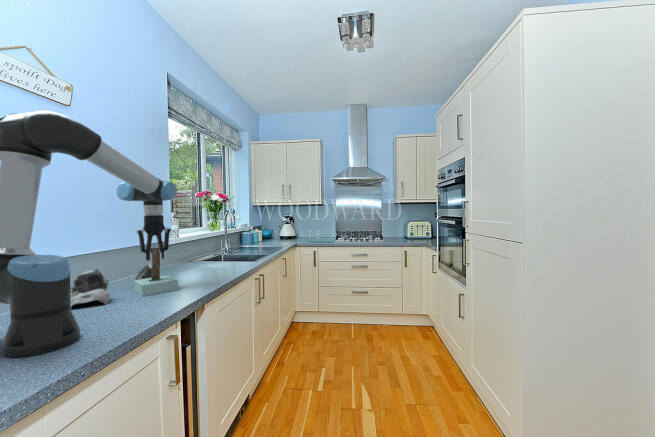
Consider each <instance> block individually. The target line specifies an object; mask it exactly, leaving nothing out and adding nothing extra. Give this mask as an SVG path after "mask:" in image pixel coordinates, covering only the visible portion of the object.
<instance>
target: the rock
mask: <svg viewBox="0 0 655 437" xmlns="http://www.w3.org/2000/svg"><path fill="white" fill-rule="evenodd" d="M146 278H152V270H151V268H149V264H146V265H145V266H144V267H142V269H140V270H139V271H138V273H137V275H136V277H135V278H134V280H139V279H146ZM132 285H134V282H133V284H132Z"/></svg>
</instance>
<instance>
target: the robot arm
mask: <svg viewBox="0 0 655 437" xmlns="http://www.w3.org/2000/svg"><path fill="white" fill-rule="evenodd" d="M56 153H57V154H65V155H69V156H71V157H73V158H75V159H77V160H79V161H88V162H89V163H91V164H93V165H94V166H96V167H98V168H100V169H101V170H104V171H106V172H107V173H108V174H110V175H112V176H114V177H116V178H117V179H120V180H121V181H123V182H120V183H119V184H118V185H117V187H116V196H117V197H118V199H120V200H121V201H124V202H125V201H127V202H142V203H143V215H144V216H143V221H144V222H143V227H142V228H140V229H137V230H136V233H137V234H138V239H139V247H140V252H141V253H145V260H146V261H147V262H148V265H149V268H153V267H152V253H151V248H152V242H153V241H152V240H153V236H156V241H157V246H158V248H159V264H160V267H161V268H162V267H163V260H164V259H165V251H168V250H169V245H170V244H169V243H170V233H171V231H172V229H171V228H168V227H165V224H164V215H163V214H164V204H163V201H171V200H174V199H175V198H176V197H177V194H178V189H177V185H176V184H175V183H174V182H173V181H168V180H165V181H164V180H161V179H160V178H158V177H156V175H154V174H152V173H150V171H148V170H146V168H143V167H142V166H140V165H139V164H138V163H136V162H134V161H133V160H131V158H130V159H129V158H128V157H127V156H125V155H124V154H122V153H121V152H119V151H118V150H116V149H114V148H113V147H112V146H110V145H109V144H107V143H105V141H103V138H102V137H101V136H100V134H98V133H97V132H96V131H94V130H92V129H90V128H89V127H87V126H86V125H85V124H82V123H81V122H79V121H77V120H75V119H73V118H71V117H69V116H67V115H65V114H61V113H59V112H54V111H49V110H38V111H33V112H24V113H22V112H21V113H19V112H17V113H16V112H15V113H9V114H4V115H3V116H0V304H1V305H2V304H4V305H9V306H10V310H9V312H10V313H9V314H10V323H9V325H8V327H7V330H6V333H5V336H4V338H3V341H2V343H1V355H2V356H3V357H6V358H24V357H30V356H36V355H41V354H45V353H49V352H52V351H55V350H59V349H61V348H63V347H66V346H69V345H70V344H74V343H75V342H76V341H77V340H79V338H80V337H81V328H80V326H79V324H78V322H77V320H76V318H75V316H74V314H73V311H72V308H71V298H72V297H71V292H70V288H71V269H70V263H69V260H68V259H67V258H66V257H64V256H60V255H54V254H37V253H36V252H34V250H32V249H31V242H32V235H33V231H34V223H35V216H36V212H37V206H38V200H39V199H38V198H39V193H40V192H39V191H40V186H41V179H42V173H43V169H44V168H45V167H48V166H50V165H51V161H52V156H53V154H56ZM163 232H164V236H163V237H164V239H162V233H163ZM144 233H146V235H147V236H146V237H147V239H146V245H145V237H144Z"/></svg>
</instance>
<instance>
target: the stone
mask: <svg viewBox="0 0 655 437" xmlns="http://www.w3.org/2000/svg"><path fill="white" fill-rule="evenodd" d="M101 272H102V271H100V270H99V269H92V270H91V269H90V270H86V271H83V272H80V273H79V274H77V275H76V276H75V278H74V280H73V284H72V285H71V286H70V296H71V309H72V308H73V307H75V306H77V305H81V304H86V303H91V301H92V302H97V301H98V300H99V301H98V302H101V303H103V304H105V305H107V304H109V303H110V296H111V295H110V292H108V290H107V289H108V286H109V280H108V279H107V278H106V277H105V276H104V275H103V274H102V273H101Z"/></svg>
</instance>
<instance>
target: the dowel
mask: <svg viewBox="0 0 655 437" xmlns="http://www.w3.org/2000/svg"><path fill="white" fill-rule="evenodd" d="M159 252H160V250H159V247H151V249H150V253H152V267H153V268H151V270H152V280H158V279H160V276H161V272H160V271H161V270H160V264H159Z"/></svg>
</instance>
